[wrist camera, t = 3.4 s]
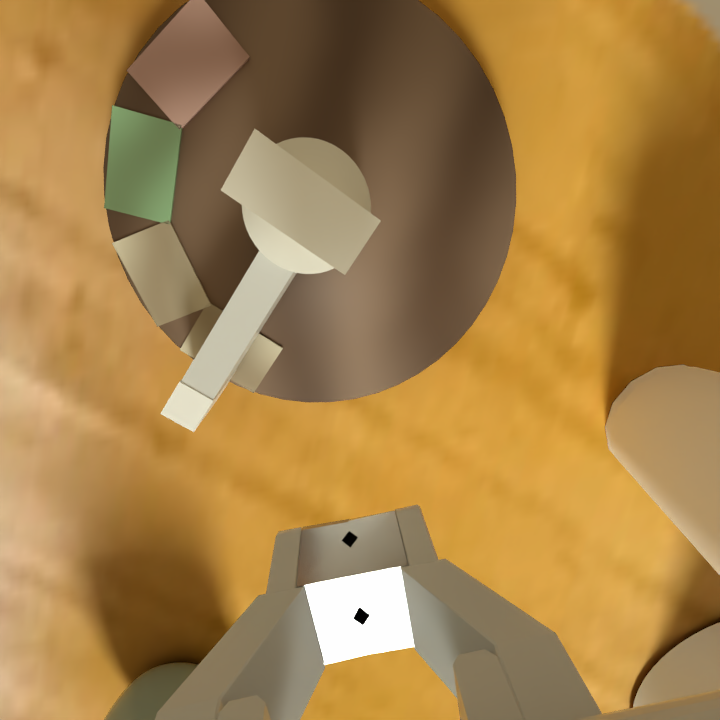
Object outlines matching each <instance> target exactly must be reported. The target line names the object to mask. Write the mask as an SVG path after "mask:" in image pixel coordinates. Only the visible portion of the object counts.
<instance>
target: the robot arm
mask: <svg viewBox="0 0 720 720" xmlns="http://www.w3.org/2000/svg"><path fill="white" fill-rule="evenodd" d="M409 647H414V648H415V650H416V651H417V652H418V653H419V655H420V656H421V657H422V658H423V659H424V660H425V661H426V663H427V664H428V665H429V666H430V667H431V668H432V670H433V671H434V672H435V673H436V674H437V675H438V676H439V678H440V679H441V680H442V681H443V682H444V683H445V685H446V686H447V687H448V688H449V689H450V690H451V692H452V693H453V694H454V695H455V696H456V697H457V700H458V707H459V715H460V720H720V622H719V623H716V624H714V625H712V626H710V627H707V628H705V629H703V630H701V631H699V632H697V633H696V634H694V635H692V636H690V637H689V638H687V639H686V640H684V641H682V642H681V643H680V644H678V645H677V646H675V647H674V648H673V649H672V650H670V651H669V652H668V653H667V654H666V655H665V656H663V657H662V658H661V659H660V660H659V661H658V662H657V664H656V665H655V666H654V667H653V668H652V669H651V670H650V672H649V673H648V674H647V676H646V677H645V679H644V680H643V682H642V684H641V686H640V688H639V689H638V692H637V694H636V697H635V700H634V704H633V708H628V709H624V710H619V711H614V712H609V713H604V714H602V713H601V711H600V709H599V708H598V706H597V704H596V703H595V701H594V699H593V697H592V696H591V694H590V692H589V690H588V689H587V687H586V685H585V683H584V682H583V680H582V678H581V676H580V675H579V673H578V671H577V669H576V668H575V666H574V664H573V663H572V661H571V659H570V657H569V656H568V654H567V652H566V650H565V649H564V647H563V645H562V643H561V642H560V640H559V638H558V636H557V635H556V633H555V632H553V631H552V630H550V629H549V628H547V627H546V626H544V625H543V624H541V623H540V622H538V621H537V620H535V619H534V618H532V617H531V616H529V615H528V614H527V613H525V612H524V611H522V610H521V609H519V608H518V607H516V606H515V605H513V604H512V603H510V602H509V601H507V600H506V599H504V598H503V597H501V596H500V595H498V594H497V593H495V592H494V591H493V590H491V589H490V588H488V587H487V586H485V585H484V584H482V583H481V582H479V581H478V580H476V579H475V578H473V577H472V576H470V575H469V574H467V573H466V572H464V571H463V570H462V569H460V568H459V567H457V566H456V565H454V564H453V563H451V562H450V561H448V560H447V559H442V560H438V557H437V554H436V552H435V549H434V546H433V543H432V540H431V537H430V534H429V531H428V528H427V526H426V523H425V520H424V517H423V514H422V511H421V508H420V506H418V505H413V506H409V507H404V508H400V509H395V511H390V512H385V513H380V514H375V515H370V516H364V517H359V518H354V519H347V520H341V521H335V522H329V523H323V524H317V525H311V526H305V527H303V528H301V527H300V528H295V529H289V530H284V531H279V532H278V534H277V536H276V539H275V545H274V550H273V556H272V562H271V568H270V574H269V579H268V585H267V591H266V594H263V595H259V596H258V597H257V598H256V599H255V600H254V601H253V602H252V604H251V605H250V606H249V607H248V608H247V609H246V611H245V612H244V613H243V614H242V615H241V616H240V617H239V619H238V620H237V621H236V622H235V623H234V624H233V626H232V627H231V628H230V629H229V630H228V631H227V632H226V634H225V635H224V636H223V637H222V638H221V639H220V641H219V642H218V643H217V644H216V645H215V646H214V647H213V649H212V650H211V651H210V652H209V653H208V654H207V656H206V657H205V658H204V659H203V660H202V661H201V662H200V664H199V665H198V666H197V667H196V668H195V669H194V671H193V672H192V673H191V674H190V675H189V676H188V677H187V679H186V680H185V681H184V682H183V683H182V684H181V686H180V687H179V688H178V689H177V690H176V691H175V692H174V694H173V695H172V696H171V697H170V698H169V699H168V701H167V702H166V703H165V704H164V705H163V706H162V708H161V709H160V710H159V711H158V712H157V715H156V718H155V720H300V718H301V716H302V714H303V712H304V710H305V708H306V706H307V704H308V702H309V700H310V698H311V696H312V694H313V691H314V689H315V687H316V685H317V683H318V681H319V679H320V677H321V675H322V673H323V671H324V669H325V666H324V665H325V664H329V663H333V662H337V661H342V660H346V659H350V658H355V657H359V656H363V655H368V654H373V653H379V652H385V651H391V650H397V649H403V648H409Z"/></svg>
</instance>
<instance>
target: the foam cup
mask: <svg viewBox="0 0 720 720" xmlns="http://www.w3.org/2000/svg"><path fill="white" fill-rule="evenodd" d="M605 430H606V436H607V441H608V447H609V450H610V451H611V452H612V453H613V454H614V456H615V457H616V458H617V459H618V461H619V462H620V463H621V464H622V465H623V466H624V467H625V468H626V470H627V471H628V472H629V473H630V474H631V475H632V476H633V478H634V479H635V480H636V481H637V482H638V483H639V484H640V485H641V487H642V488H643V489H644V490H645V491H646V492H647V493H648V495H649V496H650V497H651V498H652V499H653V500H654V501H655V503H656V504H657V505H658V506H659V507H660V508H661V509H662V510H663V512H664V513H665V514H666V515H667V516H668V517H669V518H670V520H671V521H672V522H673V523H674V524H675V525H676V526H677V527H678V529H679V530H680V531H681V532H682V533H683V534H684V535H685V537H686V538H687V539H688V540H689V541H690V542H691V543H692V545H693V546H694V547H695V548H696V549H697V550H698V551H699V552H700V554H701V555H702V556H703V557H704V558H705V559H706V560H707V562H708V563H709V564H710V565H711V566H712V567H713V568H714V569H715V571H716V572H717V573H718V574H719V575H720V372H716V371H711V370H707V369H703V368H698V367H689V366H686V365H674V366H666V367H657V368H655V369H653V370H651V371H649V372H647V373H646V374H644V375H642V376H640V377H638V378H636V379H635V380H633V381H631V382H630V383H629V384H628V386H627V387H626V388H625V389H624V390H623V391H622V393H621V394H620V395H619V396H618V397H617V398H616V400H615V401H614V402H613V403H612V407H611V410H610V413H609V416H608V419H607V422H606V425H605Z"/></svg>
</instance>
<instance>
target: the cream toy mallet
mask: <svg viewBox="0 0 720 720" xmlns="http://www.w3.org/2000/svg"><path fill="white" fill-rule="evenodd" d="M221 191H222V192H224V193H225V194H227V195H228V196H230V197H231V198H233V199H234V200H236V201H237V202H238V203H240V204H241V205H242V214H243V219H244V223H245V226H246V229H247V231H248V234H249V236H250V238H251V239H252V241H253V243H254V244H255V246H256V247H257V248H258V249H259V252H258V254H257V255H256V257H255V259H254V260H253V262H252V264H251V265H250V267H249V269H248V270H247V272H246V274H245V275H244V277H243V279H242V280H241V282H240V284H239V285H238V287H237V289H236V290H235V292H234V294H233V295H232V297H231V299H230V300H229V302H228V304H227V305H226V307H225V309H224V310H223V312H222V314H221V315H220V317H219V319H218V320H217V322H216V324H215V325H214V327H213V329H212V330H211V332H210V334H209V335H208V337H207V339H206V340H205V342H204V344H203V345H202V347H201V349H200V350H199V352H198V354H197V355H196V357H195V359H194V361H193V362H192V364H191V366H190V367H189V369H188V371H187V372H186V374H185V376H184V377H183V379H182V380H181V381H180V382H179V383H178V385H177V387H176V389H175V390H174V392H173V394H172V395H171V397H170V399H169V400H168V402H167V404H166V405H165V407H164V409H163V410H162V412H161V415H163V416H165V417H167V418H169V419H171V420H173V421H174V422H176V423H178V424H180V425H182V426H184V427H185V428H187V429H189V430H191V431H193V432H194V431H195V430H196V428H197V427H198V426H199V424H200V423H201V421H202V420H203V419H204V417H205V416H206V415H207V413H208V412H209V410H210V409H211V408H212V406H213V405H214V403H215V402H216V401H217V399H218V398H219V397H220V395H221V394H222V392H223V390H224V389H225V387H226V386H227V384H228V383H229V381H230V379H231V378H232V376H233V375H234V373H235V371H236V370H237V367H238V365H239V364H240V362H241V361H242V359H243V357H244V356H245V354H246V353H247V351H248V349H249V348H250V346H251V345H252V343H253V342H254V340H255V338H256V337H257V335H258V334H259V332H260V330H261V329H262V327H263V326H264V324H265V322H266V321H267V319H268V318H269V316H270V315H271V313H272V311H273V310H274V308H275V307H276V305H277V303H278V302H279V300H280V299H281V297H282V296H283V294H284V292H285V291H286V289H287V288H288V286H289V284H290V283H291V281H292V280H293V278H294V276H295V275H296V273H301V274H316V273H322V272H326V271H329V270H332V269H334V268H335V269H336V270H338V271H339V272H341V273H342V274H344V275H345V274H346V273H347V271H348V270H349V268H350V267H351V265H352V264H353V262H354V261H355V259H356V258H357V256H358V255H359V253H360V252H361V250H362V249H363V247H364V246H365V244H366V243H367V241H368V240H369V238H370V237H371V235H372V234H373V232H374V231H375V229H376V227H377V226H378V224H379V223H380V221H381V220H379V219H378V218H377V217H375V216H374V215H372V214H371V201H370V194H369V190H368V186H367V184H366V181H365V178H364V176H363V174H362V173H361V171H360V169H359V168H358V166H357V165H356V163H355V162H354V161H353V160H352V159H351V158H350V157H349V156H348V155H347V154H346V153H345V152H344V151H342V150H341V149H339V148H338V147H336V146H335V145H333V144H331V143H328V142H326V141H323V140H320V139H315V138H307V137H299V138H292V139H288V140H284V141H282V142H280V143H277V144H275V143H274V142H273V141H271V140H270V139H268V138H267V137H266V136H264V135H263V134H262V133H260V132H259V131H258V130H256V129H254V131H253V132H252V134H251V136H250V138H249V140H248V141H247V143H246V145H245V147H244V149H243V151H242V152H241V154H240V156H239V158H238V160H237V161H236V163H235V165H234V167H233V169H232V170H231V172H230V174H229V176H228V178H227V179H226V181H225V183H224V185H223V187H222V188H221Z"/></svg>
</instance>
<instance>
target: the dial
mask: <svg viewBox="0 0 720 720" xmlns="http://www.w3.org/2000/svg"><path fill="white" fill-rule="evenodd" d="M127 71H128V74H127V76H126V77H125V79H124V82H123V84H122V87H121V89H120V92H119V95H118V97H117V100H116V102H115V105H114V106H113V105H112V115H111V120H110V125H109V129H108V133H107V137H106V148H105V158H104V196H105V205H104V208H106V209H107V216H108V222H109V227H110V231H111V234H112V238H113V241H114V243H112V244H113V246H114V248H115V249H116V252H117V255H118V257H119V259H120V262H121V264H122V266H123V269H124V271H125V274H126V276H127V278H128V280H129V282H130V284H131V286H132V287H133V289H134V291H135V293H136V294H137V296H138V298H139V300H140V301H141V303H142V305H143V306H144V307H145V309H146V310H147V311H148V313H149V314H150V315H151V317H152V318H153V320H154V322H155V323H156V325H157V327H158V326H159V327H160V328H161V329H162V330H163V331H164V332H165V333H166V335H167V336H168V337H169V338H170V339H171V340H172V341H173V342H174V343H175V344H176V345H177V346H178V347H179V348H181V349H180V350H181V351H183V352H184V353H186V354H188V355H189V356H190V357H191V358H192V359H195V357H196V355H197V354H198V352H199V350H200V349H201V347H202V345H203V344H204V342H205V340H206V339H207V337H208V335H209V334H210V332H211V330H212V329H213V327H214V325H215V324H216V322H217V320H218V319H219V317H220V315H221V314H222V312H223V310H224V309H225V307H226V305H227V304H228V302H229V300H230V299H231V297H232V295H233V294H234V292H235V290H236V289H237V287H238V285H239V284H240V282H241V280H242V279H243V277H244V275H245V274H246V272H247V270H248V269H249V267H250V265H251V264H252V262H253V260H254V259H255V257H256V255H257V254H258V252H259V249H258V248H257V247H256V246H255V244H254V243H253V241H252V239H251V238H250V236H249V234H248V231H247V229H246V226H245V223H244V219H243V214H242V205H241V204H240V203H238V202H237V201H236V200H234V199H233V198H231V197H230V196H228V195H227V194H225V193H224V192H222V191H221V188H222V187H223V185H224V183H225V181H226V179H227V178H228V176H229V174H230V172H231V170H232V169H233V167H234V165H235V163H236V161H237V160H238V158H239V156H240V154H241V152H242V151H243V149H244V147H245V145H246V143H247V141H248V140H249V138H250V136H251V134H252V132H253V131H254V129H256V130H258V131H259V132H260V133H262V134H263V135H264V136H266V137H267V138H268V139H270V140H271V141H273V142H274V143H275V144H277V143H280V142H282V141H284V140H288V139H292V138H299V137H307V138H315V139H320V140H323V141H326V142H328V143H331V144H333V145H335V146H336V147H338V148H339V149H341V150H342V151H344V152H345V153H346V154H347V155H348V156H349V157H350V158H351V159H352V160H353V161H354V162H355V163H356V165H357V166H358V168H359V169H360V171H361V173H362V174H363V176H364V178H365V181H366V184H367V186H368V190H369V194H370V201H371V214H372V215H374V216H375V217H377V218H378V219H379V220H381V221H380V223H379V224H378V226H377V227H376V229H375V231H374V232H373V234H372V235H371V237H370V238H369V240H368V241H367V243H366V244H365V246H364V247H363V249H362V250H361V252H360V253H359V255H358V256H357V258H356V259H355V261H354V262H353V264H352V265H351V267H350V268H349V270H348V271H347V273H346V274H345V275H344V274H342V273H341V272H339V271H338V270H336V269H335V268H334V269H332V270H329V271H326V272H322V273H316V274H301V273H296V275H295V276H294V278H293V280H292V281H291V283H290V284H289V286H288V288H287V289H286V291H285V292H284V294H283V296H282V297H281V299H280V300H279V302H278V303H277V305H276V307H275V308H274V310H273V311H272V313H271V315H270V316H269V318H268V319H267V321H266V322H265V324H264V326H263V327H262V329H261V330H260V332H259V334H258V335H257V337H256V338H255V340H254V342H253V343H252V345H251V346H250V348H249V349H248V351H247V353H246V354H245V356H244V357H243V359H242V361H241V362H240V364H239V365H238V367H237V370H236V371H235V373H234V375H233V376H232V378H231V379H230V382H232V383H234V384H235V385H237V386H240V387H243V388H245V389H248V390H249V391H251V392H253V393H254V392H256V393H259V394H263V395H267V396H271V397H275V398H279V399H284V400H292V401H301V402H334V401H342V400H350V399H356V398H360V397H363V396H367V395H371V394H375V393H378V392H381V391H383V390H386V389H388V388H391V387H393V386H396V385H398V384H400V383H402V382H404V381H406V380H408V379H409V378H411V377H413V376H415V375H417V374H419V373H420V372H422V371H423V370H424V369H426V368H427V367H429V366H430V365H431V364H433V363H434V362H436V361H437V360H438V359H439V358H441V357H442V356H443V355H444V354H445V353H446V352H447V351H448V350H449V349H451V348H452V347H453V346H454V345H455V344H456V343H457V342H458V341H459V339H460V338H461V337H462V336H463V335H464V334H465V332H466V331H467V330H468V329H469V328H470V327H471V326H472V324H473V323H474V321H475V320H476V318H477V317H478V315H479V314H480V312H481V311H482V309H483V308H484V306H485V305H486V303H487V301H488V299H489V297H490V295H491V293H492V291H493V289H494V287H495V285H496V284H497V282H498V279H499V276H500V273H501V271H502V268H503V265H504V263H505V260H506V257H507V253H508V249H509V245H510V241H511V236H512V232H513V225H514V216H515V207H516V173H515V165H514V157H513V150H512V144H511V140H510V136H509V132H508V129H507V125H506V121H505V117H504V115H503V112H502V110H501V107H500V105H499V102H498V100H497V97H496V95H495V92H494V90H493V88H492V86H491V84H490V82H489V81H488V79H487V77H486V75H485V73H484V72H483V70H482V68H481V66H480V64H479V63H478V61H477V60H476V59H475V57H474V56H473V55H472V53H471V52H470V51H469V49H468V48H467V47H466V45H465V44H464V43H463V41H462V40H461V39H460V37H459V36H458V35H457V34H456V33H455V32H454V31H453V30H452V29H451V28H450V27H449V26H448V25H447V24H446V23H445V22H444V21H443V20H442V19H441V18H440V17H439V16H438V15H437V14H435V13H434V12H433V11H431V10H430V9H429V8H427V7H426V6H425V5H423V4H422V3H421V2H420V1H418V0H189V1H188V2H187V3H185V4H184V5H182V6H181V7H180V8H179V9H178V10H177V11H175V12H174V13H173V14H172V15H171V16H170V17H169V18H168V19H167V20H166V21H165V22H164V23H163V24H162V25H161V26H160V27H159V28H158V29H157V30H156V32H155V33H154V34H153V35H152V37H151V38H150V39H149V41H148V42H147V43H146V44H145V46H144V47H143V48H142V50H141V51H140V52H139V54H138V56H137V58H136V59H135V61H134V63H133V64H132V65H131V66H130V67H129V68H128V69H127Z"/></svg>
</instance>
